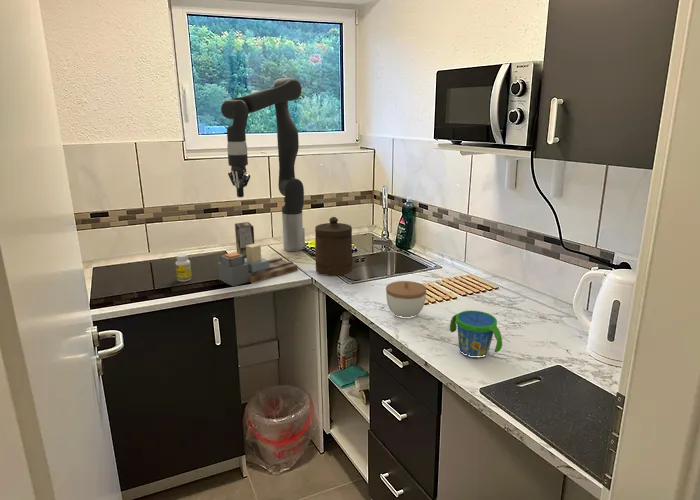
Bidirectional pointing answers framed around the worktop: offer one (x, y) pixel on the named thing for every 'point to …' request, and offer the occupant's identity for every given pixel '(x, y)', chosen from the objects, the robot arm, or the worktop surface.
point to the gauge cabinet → (233, 270)
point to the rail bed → (273, 270)
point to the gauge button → (232, 255)
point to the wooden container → (333, 248)
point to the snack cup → (476, 332)
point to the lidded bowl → (405, 298)
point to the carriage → (255, 258)
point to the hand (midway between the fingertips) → (240, 196)
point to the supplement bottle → (183, 268)
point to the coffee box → (244, 237)
